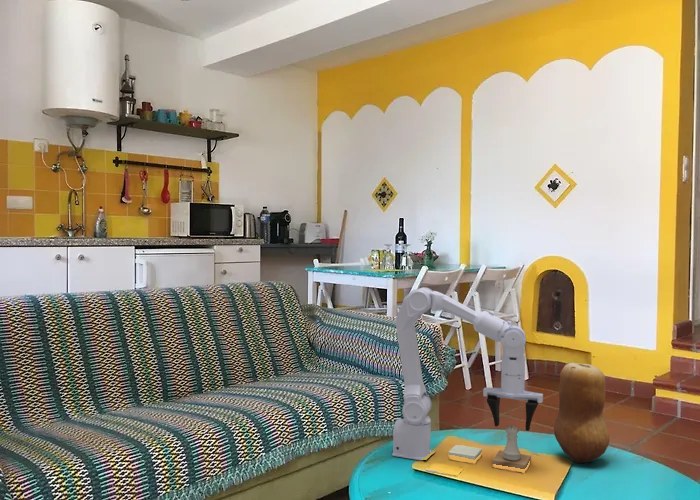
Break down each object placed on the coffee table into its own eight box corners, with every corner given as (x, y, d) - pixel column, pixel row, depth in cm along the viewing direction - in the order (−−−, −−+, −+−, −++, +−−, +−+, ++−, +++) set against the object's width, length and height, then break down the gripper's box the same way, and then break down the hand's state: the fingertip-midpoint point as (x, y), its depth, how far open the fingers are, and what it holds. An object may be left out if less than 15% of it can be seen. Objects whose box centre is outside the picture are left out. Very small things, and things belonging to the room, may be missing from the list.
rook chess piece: (520, 462, 152) (521, 429, 152) (502, 460, 153) (502, 428, 153) (520, 456, 156) (521, 424, 156) (502, 454, 157) (503, 423, 157)
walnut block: (492, 467, 153) (492, 459, 153) (499, 458, 160) (499, 450, 160) (525, 473, 149) (525, 465, 149) (530, 463, 157) (530, 455, 157)
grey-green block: (448, 459, 158) (448, 452, 158) (455, 452, 165) (456, 444, 165) (475, 464, 155) (475, 456, 155) (481, 456, 162) (481, 448, 162)
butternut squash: (620, 466, 156) (621, 367, 156) (577, 471, 151) (579, 370, 151) (582, 449, 169) (583, 358, 169) (541, 454, 164) (543, 360, 164)
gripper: (480, 373, 154) (479, 427, 154) (540, 379, 148) (539, 435, 148) (487, 368, 161) (486, 420, 161) (544, 374, 154) (543, 428, 154)
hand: (512, 427), depth 155 cm, fingers open, 7 cm apart
